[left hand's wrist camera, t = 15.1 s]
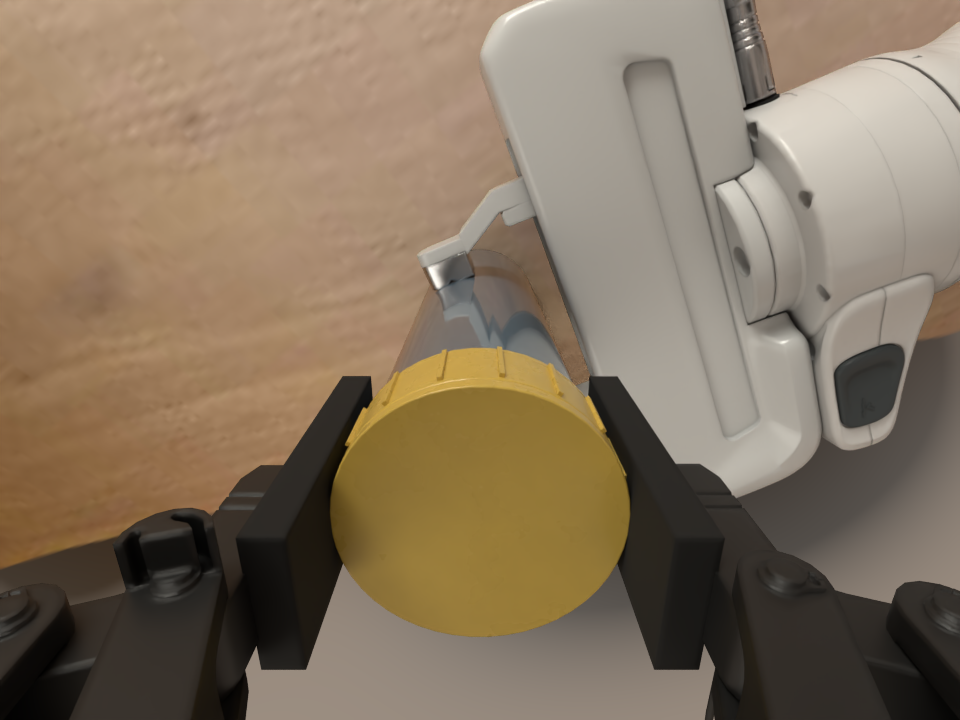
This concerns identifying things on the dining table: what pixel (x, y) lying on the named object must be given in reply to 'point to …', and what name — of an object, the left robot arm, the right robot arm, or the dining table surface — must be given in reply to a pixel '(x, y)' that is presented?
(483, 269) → the jar
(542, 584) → the lid
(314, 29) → the dining table surface
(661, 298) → the right robot arm
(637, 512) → the left robot arm
